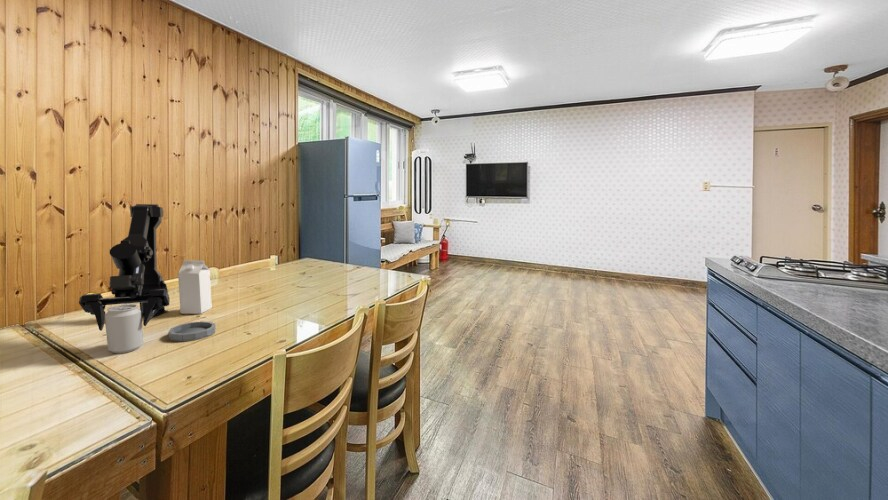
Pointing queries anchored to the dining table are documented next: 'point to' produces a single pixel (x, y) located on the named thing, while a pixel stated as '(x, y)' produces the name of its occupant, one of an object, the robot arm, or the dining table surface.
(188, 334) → the ring coaster
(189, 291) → the milk carton
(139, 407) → the dining table surface
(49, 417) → the dining table surface
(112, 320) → the can
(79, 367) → the dining table surface
